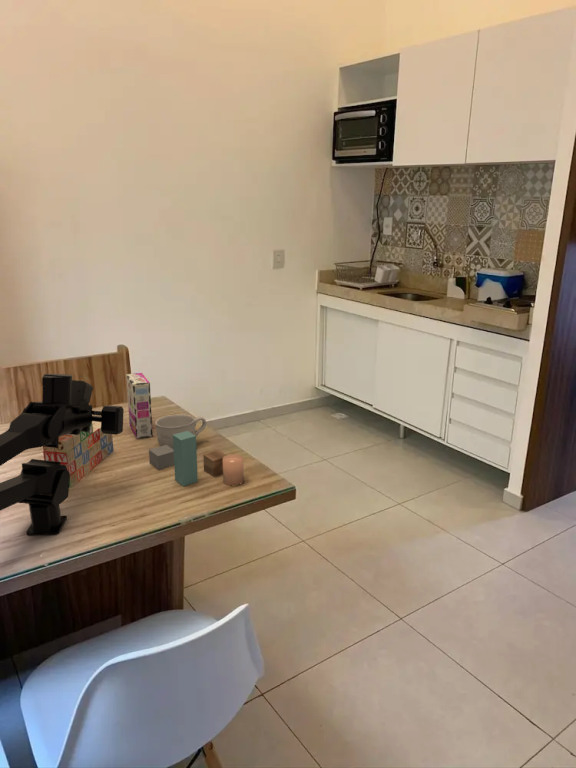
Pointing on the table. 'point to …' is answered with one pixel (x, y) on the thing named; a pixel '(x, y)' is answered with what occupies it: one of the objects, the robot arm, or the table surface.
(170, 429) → the teacup
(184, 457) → the teal block
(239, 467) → the peach rounded cylinder
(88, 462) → the stack of blocks
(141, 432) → the candy bar box
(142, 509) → the table surface
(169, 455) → the gray block
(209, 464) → the walnut cube
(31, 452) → the table surface
